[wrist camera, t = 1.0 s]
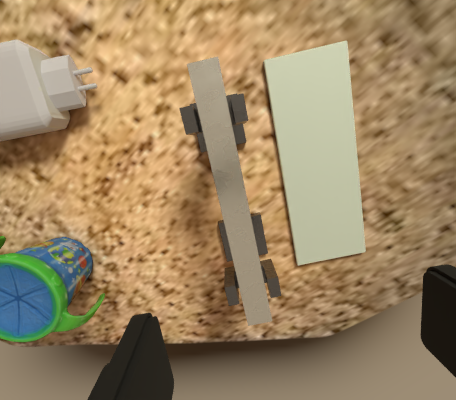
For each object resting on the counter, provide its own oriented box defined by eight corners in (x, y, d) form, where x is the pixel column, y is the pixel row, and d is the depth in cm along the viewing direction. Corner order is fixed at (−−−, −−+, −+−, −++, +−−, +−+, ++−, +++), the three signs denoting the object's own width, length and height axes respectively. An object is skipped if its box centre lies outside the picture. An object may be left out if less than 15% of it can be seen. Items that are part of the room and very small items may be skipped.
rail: (218, 64, 20) (218, 56, 19) (268, 307, 26) (272, 321, 24) (190, 71, 21) (187, 64, 19) (246, 311, 26) (248, 325, 24)
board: (343, 42, 30) (347, 40, 29) (362, 249, 37) (365, 251, 36) (263, 62, 30) (264, 60, 30) (296, 262, 37) (298, 265, 36)
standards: (236, 94, 31) (244, 63, 18) (266, 250, 37) (289, 312, 23) (190, 105, 32) (166, 82, 18) (227, 258, 37) (228, 324, 24)
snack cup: (4, 251, 36) (-79, 294, 26) (42, 199, 34) (-33, 224, 25) (93, 311, 39) (48, 370, 29) (132, 266, 37) (99, 312, 27)
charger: (115, 120, 32) (5, 141, 33) (92, 41, 30) (-24, 66, 30) (96, 116, 28) (-31, 141, 28) (68, 24, 25) (-69, 53, 26)
